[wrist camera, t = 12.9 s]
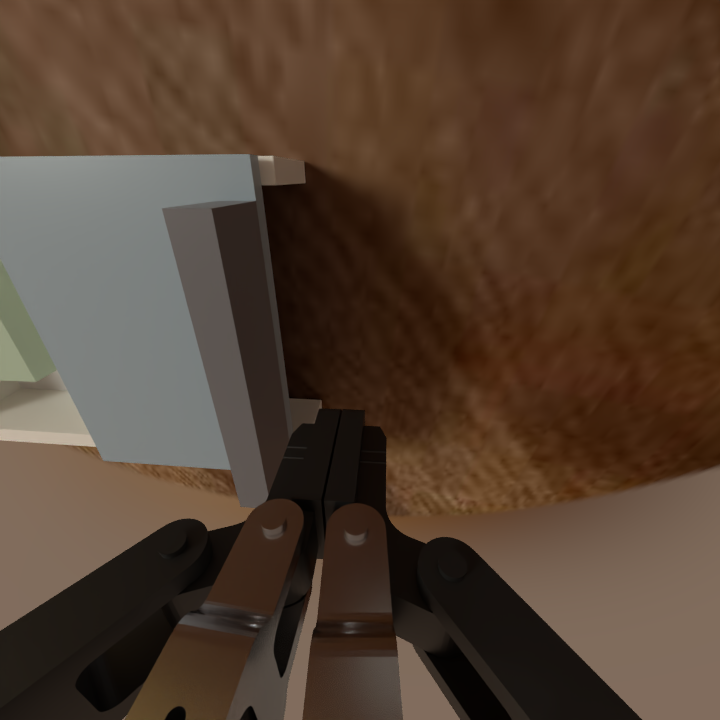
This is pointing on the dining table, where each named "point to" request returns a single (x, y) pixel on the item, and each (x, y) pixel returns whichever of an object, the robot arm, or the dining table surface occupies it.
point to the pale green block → (19, 338)
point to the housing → (52, 400)
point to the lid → (155, 305)
